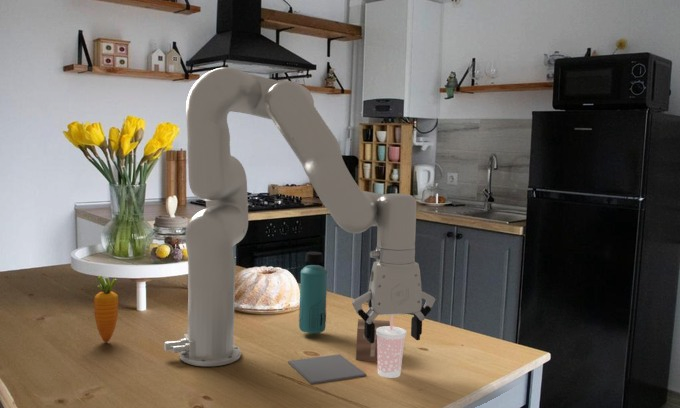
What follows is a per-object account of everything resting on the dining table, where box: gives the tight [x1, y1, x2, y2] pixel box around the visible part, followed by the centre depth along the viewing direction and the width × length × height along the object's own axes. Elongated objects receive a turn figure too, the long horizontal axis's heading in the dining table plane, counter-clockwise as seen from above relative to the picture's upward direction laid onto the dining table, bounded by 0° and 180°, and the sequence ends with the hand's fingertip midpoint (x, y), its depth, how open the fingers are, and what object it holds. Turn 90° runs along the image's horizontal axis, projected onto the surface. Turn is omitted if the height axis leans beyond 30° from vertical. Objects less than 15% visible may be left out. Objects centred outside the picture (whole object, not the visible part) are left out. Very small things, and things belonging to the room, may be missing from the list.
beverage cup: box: [376, 315, 407, 379], centre depth 129 cm, size 6×6×14 cm
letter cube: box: [355, 318, 391, 362], centre depth 139 cm, size 7×7×7 cm
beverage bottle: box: [298, 251, 328, 334], centre depth 151 cm, size 6×7×20 cm
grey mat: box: [287, 353, 367, 385], centre depth 130 cm, size 12×12×1 cm
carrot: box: [93, 275, 119, 344], centre depth 140 cm, size 5×5×15 cm
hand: (393, 339), depth 129 cm, fingers open, 9 cm apart
